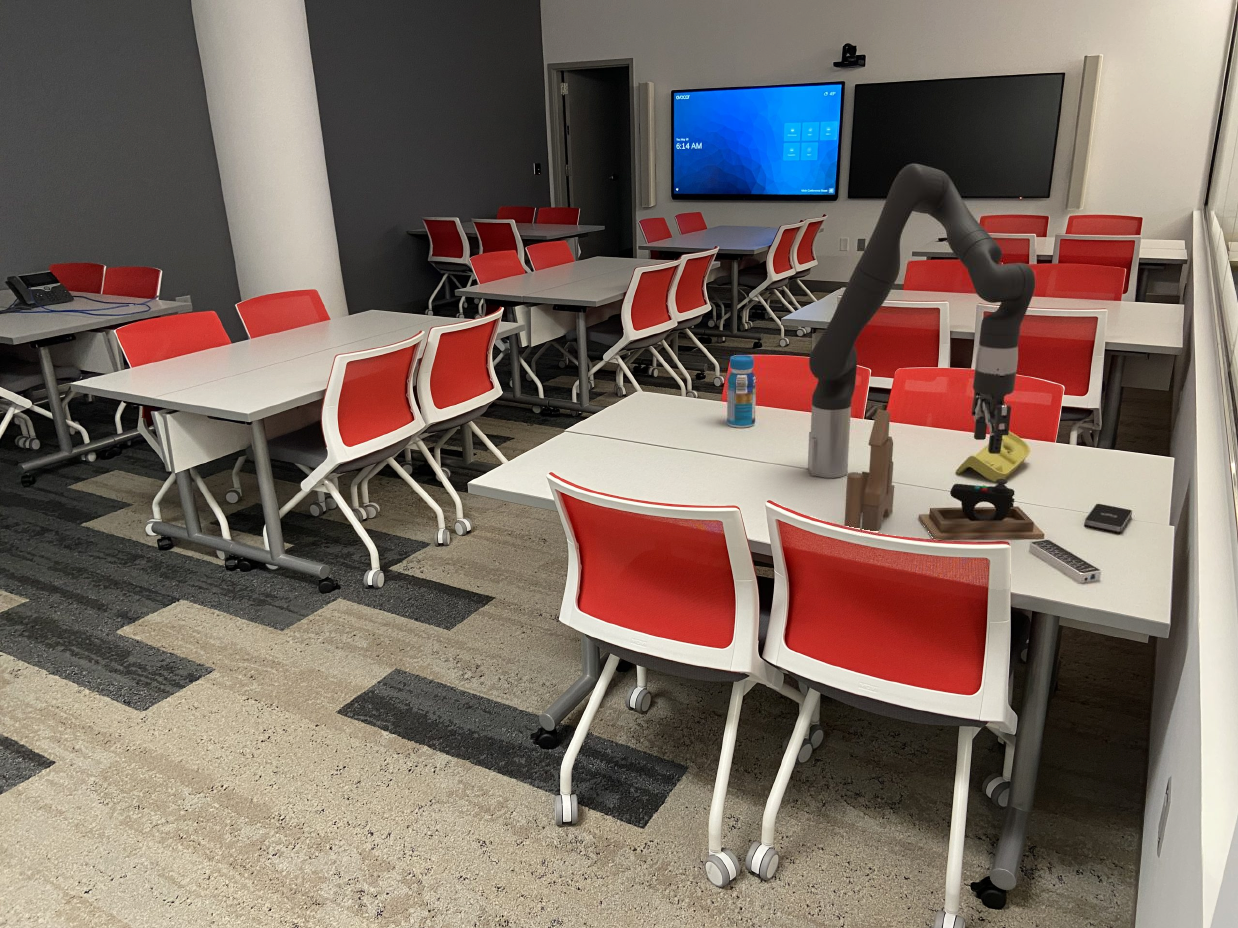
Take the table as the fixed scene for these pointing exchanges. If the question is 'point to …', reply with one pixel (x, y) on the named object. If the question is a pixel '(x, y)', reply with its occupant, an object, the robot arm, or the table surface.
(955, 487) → the controller
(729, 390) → the beverage bottle
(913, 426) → the table surface
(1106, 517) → the external hard drive
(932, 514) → the cradle
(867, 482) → the wooden toy
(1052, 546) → the multiport hub
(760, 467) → the table surface
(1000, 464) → the plastic component
